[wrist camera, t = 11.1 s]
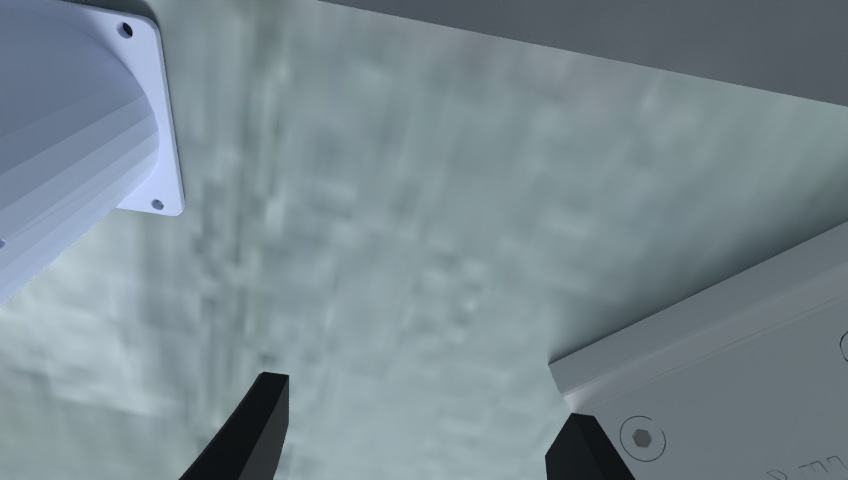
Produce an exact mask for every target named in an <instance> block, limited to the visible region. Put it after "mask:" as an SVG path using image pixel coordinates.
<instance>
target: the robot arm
mask: <svg viewBox="0 0 848 480" xmlns="http://www.w3.org/2000/svg"><path fill="white" fill-rule="evenodd" d="M124 22H125V23H127V24H128V25H129V26H130V27H131V29H132V31H133V36H130V35H128V34H127V33H126V32H125V31H124V28H123V23H124ZM156 199H157V200H160V201H161V202H162V203H163V205H160V204H159V203H157V201H156ZM115 207H116V208H123V209H130V210H136V211H143V212H150V213H157V214H164V215H171V216H176V215H178V214H180V213H181V212H182V211H183V209H184V208H185V201H184V194H183V187H182V180H181V174H180V167H179V160H178V153H177V146H176V140H175V133H174V126H173V119H172V112H171V105H170V99H169V92H168V85H167V78H166V71H165V64H164V58H163V51H162V44H161V37H160V32H159V29H158V27H157V26H156V24H155V23H154V22H153V21H152V20H150V19H149V18H147V17H144V16H141V15H136V14H131V13H125V12H120V11H115V10H109V9H104V8H99V7H94V6H88V5H83V4H78V3H73V2H67V1H62V0H0V307H1V306H2V305H3V304H4V303H5V302H6V301H8V300H9V299H10V298H11V297H12V296H13V295H15V294H16V293H17V292H18V291H19V290H20V289H21V288H23V287H24V286H25V285H26V284H27V283H28V282H30V281H31V280H32V279H33V278H34V277H35V276H36V275H38V274H39V273H40V272H41V271H42V270H43V269H44V268H46V267H47V266H48V265H49V264H50V263H51V262H53V261H54V260H55V259H56V258H57V257H58V256H59V255H61V254H62V253H63V252H64V251H65V250H66V249H68V248H69V247H70V246H71V245H72V244H73V243H74V242H76V241H77V240H78V239H79V238H80V237H81V236H83V235H84V234H85V233H86V232H87V231H88V230H89V229H91V228H92V227H93V226H94V225H95V224H96V223H98V222H99V221H100V220H101V219H102V218H103V217H104V216H106V215H107V214H108V213H109V212H110V211H111V210H112V209H114V208H115ZM288 424H289V375H285V374H277V373H270V372H263V373H261V374H259V375H258V377H257V379H256V380H255V382H254V383H253V385H252V386H251V388H250V389H249V391H248V392H247V394H246V395H245V397H244V398H243V400H242V401H241V402H240V404H239V405H238V407H237V408H236V409H235V411H234V412H233V413H232V415H231V416H230V417H229V419H228V420H227V421H226V423H225V424H224V425H223V427H222V428H221V429H220V430H219V432H218V433H217V434H216V435H215V437H214V438H213V439H212V440H211V442H210V443H209V444H208V445H207V447H206V448H205V449H204V450H203V452H202V453H201V454H200V455H199V457H198V458H197V459H196V460H195V461H194V463H193V464H192V465H191V466H190V467H189V468H188V470H187V471H186V472H185V473H184V474H183V475H182V476H181V478H180V479H179V480H273V477H274V475H275V472H276V469H277V466H278V462H279V459H280V455H281V451H282V447H283V444H284V440H285V436H286V432H287V428H288ZM545 461H546V472H547V480H636V479H635V478H634V476H633V475H632V473H631V472H630V470H629V469H628V467H627V465H626V464H625V462H624V461H623V459H622V458H621V456H620V455H619V453H618V452H617V450H616V449H615V447H614V445H613V444H612V442H611V441H610V439H609V438H608V436H607V435H606V433H605V432H604V430H603V428H602V427H601V425H600V424H599V422H598V421H597V419H596V418H595V416H592V415H584V414H577V413H571V415H570V416H569V418H568V419H567V421H566V423H565V424H564V426H563V428H562V429H561V431H560V432H559V434H558V436H557V437H556V439H555V441H554V442H553V444H552V445H551V447H550V449H549V450H548V452H547V454H546V455H545Z"/></svg>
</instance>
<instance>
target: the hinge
mask: <svg viewBox="0 0 848 480" xmlns="http://www.w3.org/2000/svg"><path fill="white" fill-rule="evenodd" d="M548 366H549V368H550V371H551V373H552V375H553V378H554V380H555V382H556V385H557V387H558V389H559V391H560V393H561V395H562V396H563V398H564V399H565V401H566V402H567V404H568V405H569V407H570V408H571V410H572V411H573V413H577V414H584V415H592V416H595V418H596V419H597V421H598V422H599V424H600V425H601V427H602V428H603V430H604V432H605V433H606V435H607V436H608V438H609V439H610V441H611V442H612V444H613V445H614V447H615V449H616V450H617V452H618V453H619V455H620V456H621V458H622V459H623V461H624V462H625V464H626V465H627V467H628V469H629V470H630V472H631V473H632V475H633V476H634V478H635V479H636V480H848V221H847V222H845V223H842V224H840V225H838V226H836V227H834V228H832V229H830V230H828V231H826V232H824V233H822V234H820V235H818V236H815V237H813V238H811V239H809V240H807V241H805V242H803V243H801V244H799V245H797V246H795V247H793V248H790V249H788V250H786V251H784V252H782V253H780V254H778V255H776V256H774V257H772V258H770V259H768V260H766V261H763V262H761V263H759V264H757V265H755V266H753V267H751V268H749V269H747V270H745V271H743V272H741V273H738V274H736V275H734V276H732V277H730V278H728V279H726V280H724V281H722V282H720V283H718V284H716V285H714V286H711V287H709V288H707V289H705V290H703V291H701V292H699V293H697V294H695V295H693V296H691V297H689V298H686V299H684V300H682V301H680V302H678V303H676V304H674V305H672V306H670V307H668V308H666V309H664V310H662V311H659V312H657V313H655V314H653V315H651V316H649V317H647V318H645V319H643V320H641V321H639V322H637V323H634V324H632V325H630V326H628V327H626V328H624V329H622V330H620V331H618V332H616V333H614V334H612V335H610V336H607V337H605V338H603V339H601V340H599V341H597V342H595V343H593V344H591V345H589V346H587V347H585V348H582V349H580V350H578V351H576V352H574V353H572V354H570V355H568V356H566V357H564V358H562V359H560V360H558V361H555V362H553V363H551V364H549V365H548Z"/></svg>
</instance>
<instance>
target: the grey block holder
mask: <svg viewBox="0 0 848 480" xmlns="http://www.w3.org/2000/svg"><path fill="white" fill-rule="evenodd" d="M319 1H324V2H329V3H334V4H339V5H344V6H349V7H354V8H359V9H364V10H369V11H374V12H379V13H384V14H389V15H394V16H399V17H404V18H409V19H414V20H419V21H424V22H429V23H434V24H439V25H444V26H449V27H454V28H459V29H463V30H468V31H473V32H478V33H483V34H488V35H493V36H498V37H503V38H508V39H513V40H518V41H523V42H528V43H533V44H538V45H543V46H548V47H553V48H558V49H563V50H568V51H573V52H578V53H583V54H588V55H593V56H598V57H603V58H608V59H613V60H618V61H623V62H628V63H633V64H638V65H643V66H648V67H653V68H658V69H663V70H668V71H673V72H678V73H683V74H688V75H693V76H698V77H703V78H708V79H713V80H718V81H723V82H728V83H733V84H738V85H743V86H748V87H753V88H758V89H763V90H768V91H773V92H777V93H782V94H787V95H792V96H797V97H802V98H807V99H812V100H817V101H822V102H827V103H832V104H837V105H842V106H847V107H848V0H319Z"/></svg>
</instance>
